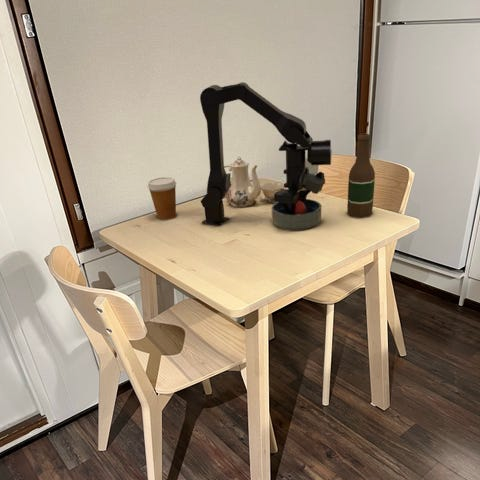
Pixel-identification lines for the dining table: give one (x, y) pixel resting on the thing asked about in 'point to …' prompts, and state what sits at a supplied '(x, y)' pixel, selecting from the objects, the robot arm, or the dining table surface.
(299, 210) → the apple
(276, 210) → the bowl
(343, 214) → the dining table surface
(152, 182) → the disposable coffee cup
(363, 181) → the beer bottle
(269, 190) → the chinaware
